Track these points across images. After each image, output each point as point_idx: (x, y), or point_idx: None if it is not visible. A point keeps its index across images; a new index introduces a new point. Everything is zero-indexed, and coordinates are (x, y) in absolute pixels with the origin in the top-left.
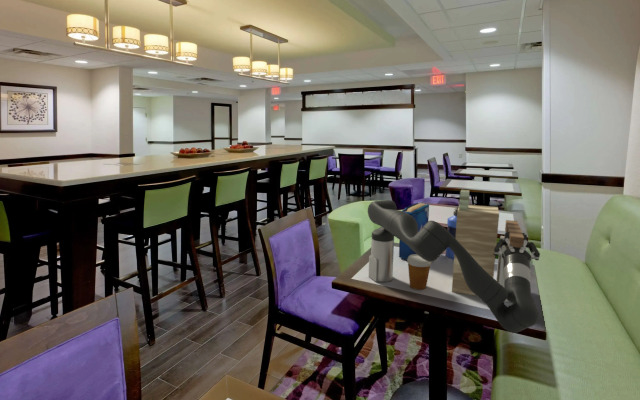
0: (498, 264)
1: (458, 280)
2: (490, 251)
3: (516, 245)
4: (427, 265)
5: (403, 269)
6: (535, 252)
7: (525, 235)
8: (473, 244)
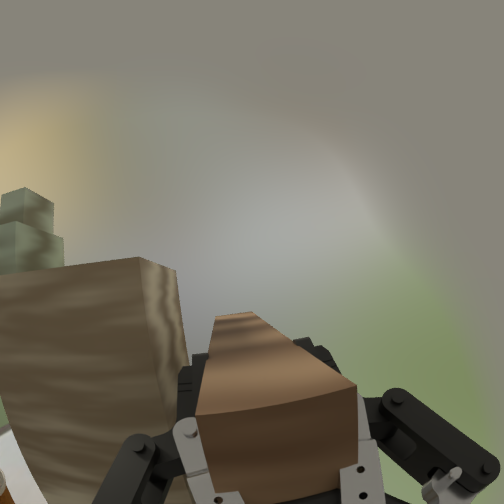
0: None
1: None
2: None
3: (289, 485)
4: None
5: (22, 476)
6: (467, 468)
7: (320, 352)
8: (72, 443)
